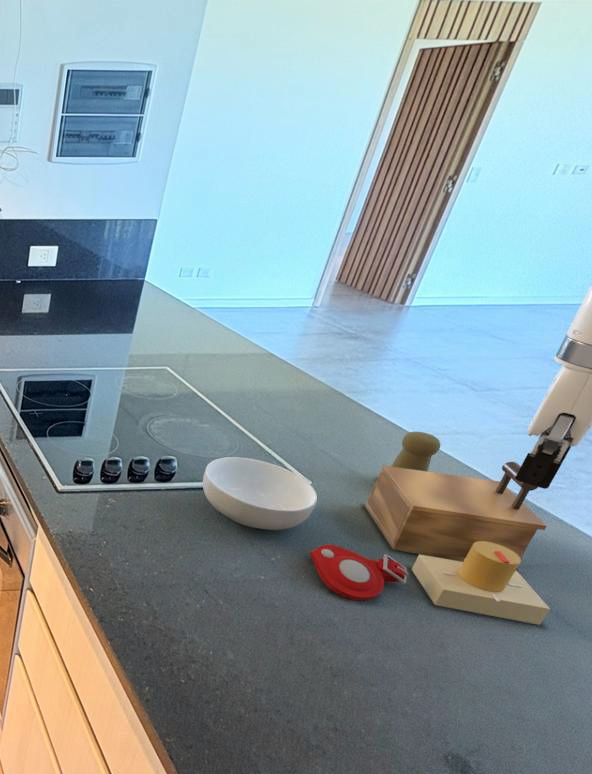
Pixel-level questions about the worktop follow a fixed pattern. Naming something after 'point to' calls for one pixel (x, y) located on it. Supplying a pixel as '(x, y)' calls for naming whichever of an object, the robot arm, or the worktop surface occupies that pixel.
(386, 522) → the chest
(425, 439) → the cork
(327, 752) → the worktop surface
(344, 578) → the tracker holder
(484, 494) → the hinged box cover
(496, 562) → the lock knob
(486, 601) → the lock plate
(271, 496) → the cereal bowl
